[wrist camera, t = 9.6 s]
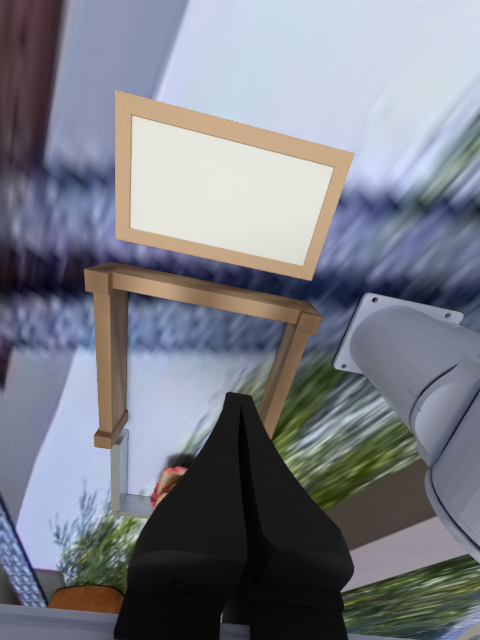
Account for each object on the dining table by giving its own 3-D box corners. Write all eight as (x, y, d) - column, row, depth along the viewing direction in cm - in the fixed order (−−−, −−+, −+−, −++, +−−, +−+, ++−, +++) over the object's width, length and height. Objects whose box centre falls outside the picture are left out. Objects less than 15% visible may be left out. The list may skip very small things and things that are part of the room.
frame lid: (350, 156, 16) (354, 153, 15) (308, 278, 20) (311, 280, 19) (120, 95, 15) (114, 89, 14) (119, 238, 18) (115, 238, 18)
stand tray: (252, 448, 28) (253, 464, 26) (231, 511, 33) (230, 528, 31) (119, 428, 27) (110, 443, 25) (119, 497, 32) (111, 514, 30)
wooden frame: (309, 302, 20) (322, 317, 17) (260, 441, 27) (263, 471, 24) (111, 261, 19) (84, 269, 16) (113, 418, 26) (94, 446, 23)
